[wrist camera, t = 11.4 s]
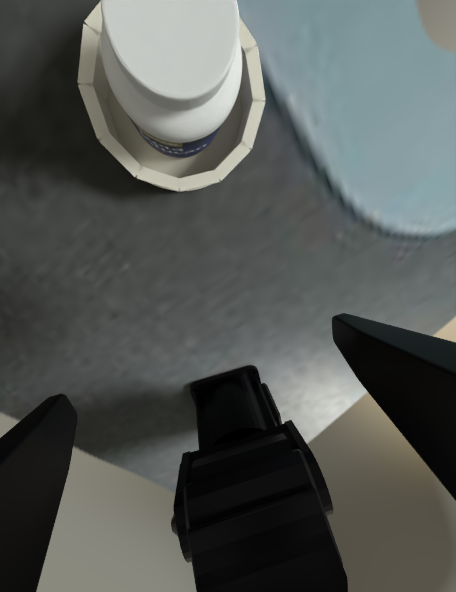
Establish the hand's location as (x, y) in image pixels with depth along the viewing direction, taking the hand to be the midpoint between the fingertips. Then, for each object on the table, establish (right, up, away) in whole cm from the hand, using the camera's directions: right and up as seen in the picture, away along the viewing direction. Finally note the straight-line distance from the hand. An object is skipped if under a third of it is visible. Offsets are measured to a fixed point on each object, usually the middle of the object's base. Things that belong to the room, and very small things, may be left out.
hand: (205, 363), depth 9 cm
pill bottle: (-2, +14, +8) cm, 16 cm away
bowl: (-3, +14, +9) cm, 17 cm away
